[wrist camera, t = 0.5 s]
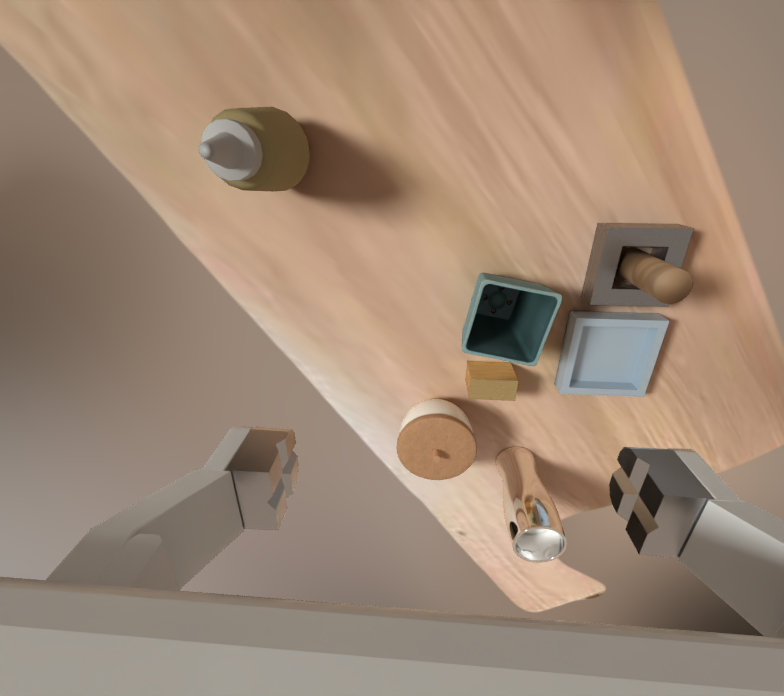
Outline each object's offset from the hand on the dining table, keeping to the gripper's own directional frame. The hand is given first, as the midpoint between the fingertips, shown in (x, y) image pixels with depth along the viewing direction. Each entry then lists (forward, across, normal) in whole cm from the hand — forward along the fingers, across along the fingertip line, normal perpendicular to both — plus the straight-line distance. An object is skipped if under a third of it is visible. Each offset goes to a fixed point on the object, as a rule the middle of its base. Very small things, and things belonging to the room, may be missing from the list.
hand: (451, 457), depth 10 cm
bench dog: (+42, -9, +21) cm, 47 cm away
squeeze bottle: (+42, +17, -7) cm, 46 cm away
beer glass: (+42, -15, +37) cm, 58 cm away
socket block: (+42, -24, +5) cm, 48 cm away
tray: (+42, -24, +17) cm, 51 cm away
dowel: (+42, -24, +5) cm, 48 cm away
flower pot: (+42, -9, +10) cm, 44 cm away
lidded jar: (+42, -2, +29) cm, 51 cm away
